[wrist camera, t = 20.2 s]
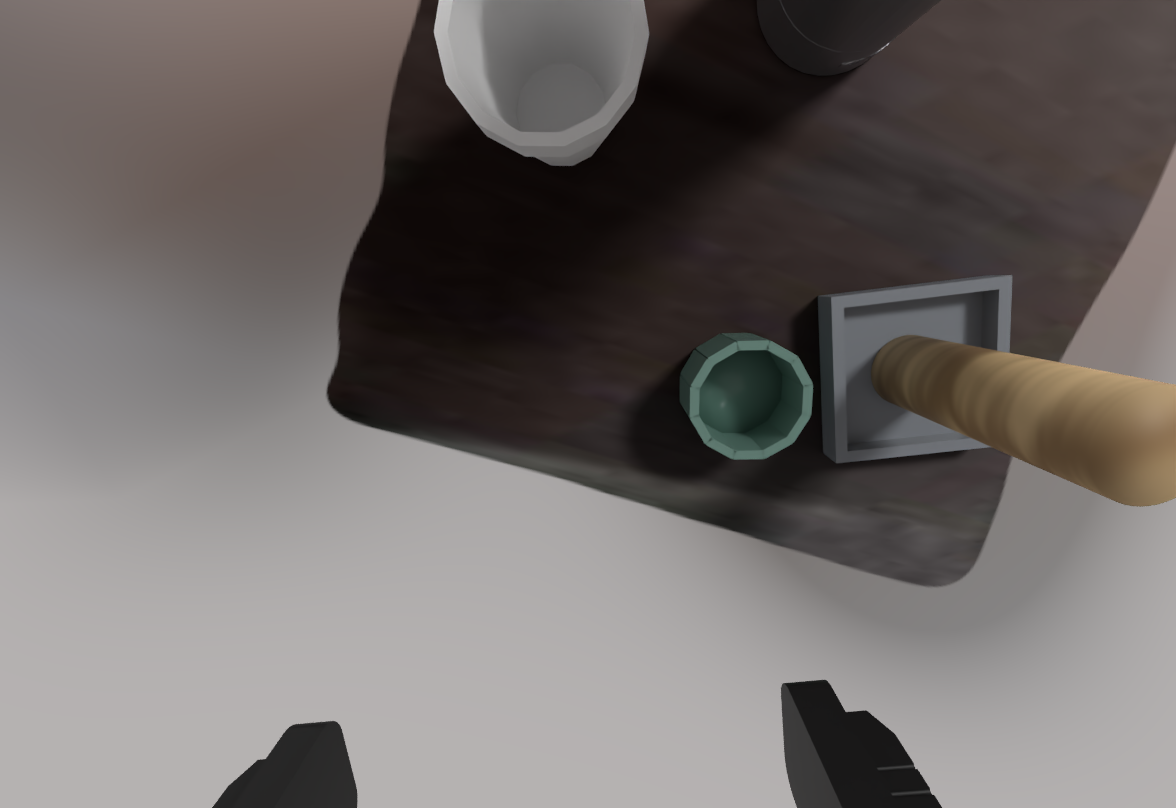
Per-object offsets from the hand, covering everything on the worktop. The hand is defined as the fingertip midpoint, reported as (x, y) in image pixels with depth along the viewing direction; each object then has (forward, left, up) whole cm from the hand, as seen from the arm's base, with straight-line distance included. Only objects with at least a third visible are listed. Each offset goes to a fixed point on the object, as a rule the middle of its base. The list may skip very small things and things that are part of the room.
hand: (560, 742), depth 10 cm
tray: (+10, +20, -32) cm, 39 cm away
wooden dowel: (+10, +20, -31) cm, 38 cm away
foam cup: (-17, +8, -32) cm, 37 cm away
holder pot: (+5, +9, -32) cm, 34 cm away
